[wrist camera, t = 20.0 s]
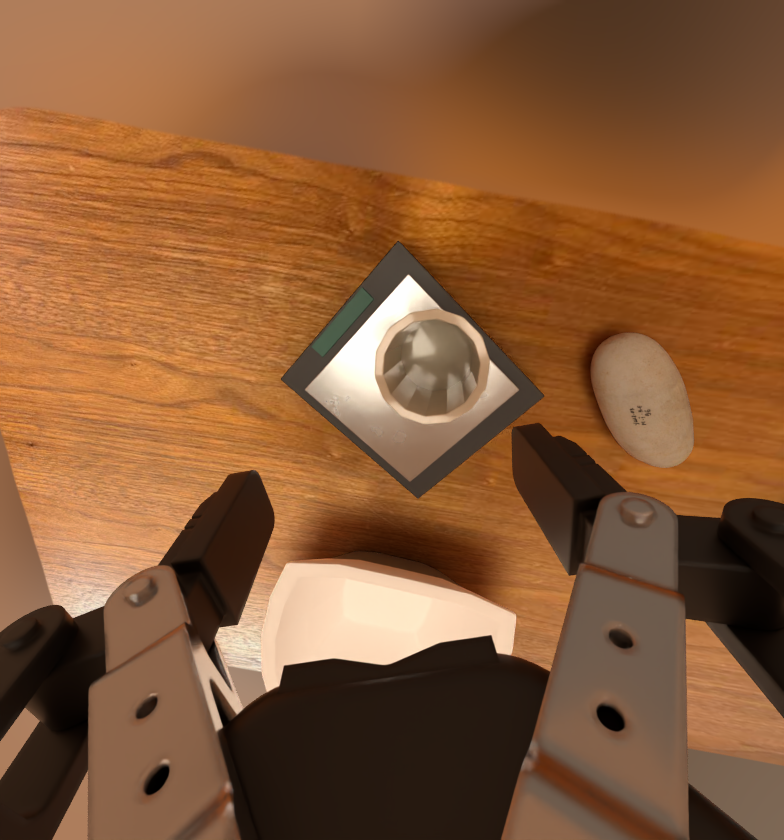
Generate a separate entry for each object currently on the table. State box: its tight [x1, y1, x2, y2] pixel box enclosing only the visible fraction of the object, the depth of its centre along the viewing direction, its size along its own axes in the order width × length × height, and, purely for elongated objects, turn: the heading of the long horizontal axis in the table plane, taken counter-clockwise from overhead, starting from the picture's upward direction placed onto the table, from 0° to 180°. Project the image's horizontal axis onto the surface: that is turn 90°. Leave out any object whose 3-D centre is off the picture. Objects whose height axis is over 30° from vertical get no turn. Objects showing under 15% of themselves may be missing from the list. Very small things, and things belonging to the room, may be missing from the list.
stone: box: [591, 333, 694, 468], centre depth 28 cm, size 6×6×12 cm
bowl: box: [261, 551, 516, 692], centre depth 37 cm, size 22×23×8 cm
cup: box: [374, 309, 490, 425], centre depth 23 cm, size 6×6×8 cm
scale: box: [281, 241, 544, 498], centre depth 30 cm, size 16×14×3 cm
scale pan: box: [305, 274, 519, 482], centre depth 28 cm, size 12×12×1 cm
